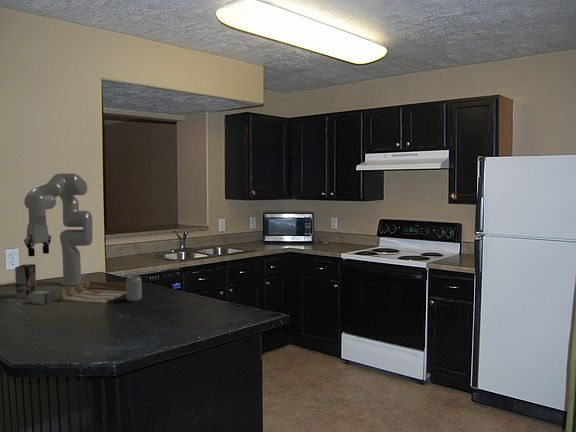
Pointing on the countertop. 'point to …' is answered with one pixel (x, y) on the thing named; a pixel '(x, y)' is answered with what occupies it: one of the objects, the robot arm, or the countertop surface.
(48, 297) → the block
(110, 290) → the corner guide
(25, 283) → the coffee box
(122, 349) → the countertop surface
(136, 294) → the can
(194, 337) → the countertop surface
